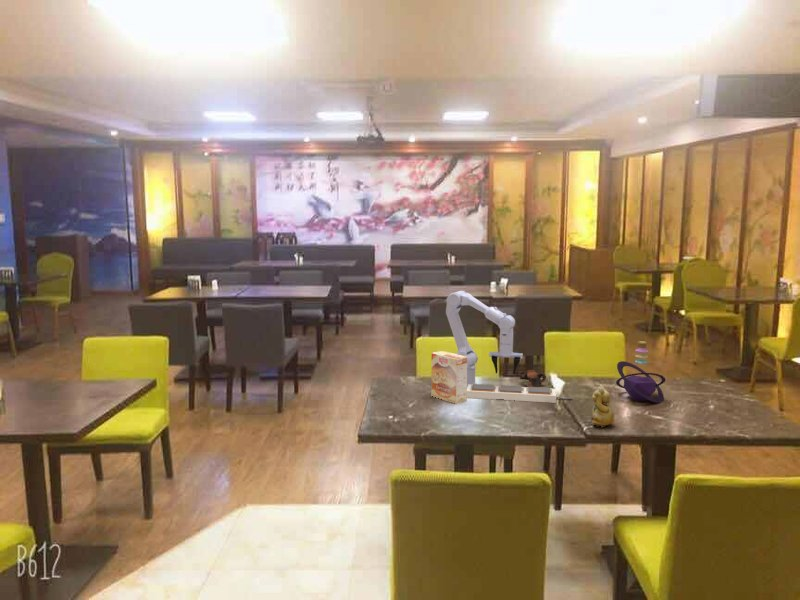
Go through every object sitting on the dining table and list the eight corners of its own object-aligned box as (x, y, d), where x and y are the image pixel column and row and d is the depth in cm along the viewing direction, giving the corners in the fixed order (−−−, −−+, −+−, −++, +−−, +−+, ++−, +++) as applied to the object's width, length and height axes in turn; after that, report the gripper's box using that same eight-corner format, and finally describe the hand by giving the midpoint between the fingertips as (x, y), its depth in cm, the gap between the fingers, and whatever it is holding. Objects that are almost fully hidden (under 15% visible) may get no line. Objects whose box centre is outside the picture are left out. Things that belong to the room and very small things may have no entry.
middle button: (499, 394, 275) (499, 390, 274) (500, 389, 282) (500, 385, 281) (521, 395, 273) (521, 391, 273) (521, 391, 280) (521, 386, 280)
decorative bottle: (657, 410, 259) (660, 349, 255) (605, 400, 271) (608, 343, 268) (672, 397, 276) (675, 340, 273) (623, 388, 289) (625, 334, 285)
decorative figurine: (592, 419, 247) (593, 381, 245) (614, 422, 244) (616, 384, 242) (589, 427, 239) (591, 388, 236) (613, 430, 236) (615, 390, 233)
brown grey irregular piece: (521, 389, 291) (517, 371, 294) (523, 392, 299) (519, 376, 302) (548, 383, 289) (543, 366, 291) (548, 387, 297) (544, 370, 300)
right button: (528, 395, 272) (528, 391, 272) (528, 391, 279) (528, 386, 279) (550, 397, 270) (550, 392, 270) (549, 392, 277) (550, 387, 277)
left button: (471, 392, 277) (471, 388, 277) (473, 388, 284) (473, 383, 284) (493, 394, 275) (493, 389, 275) (494, 389, 282) (494, 385, 282)
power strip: (465, 397, 276) (466, 391, 275) (468, 390, 286) (468, 384, 286) (573, 403, 267) (573, 396, 267) (571, 396, 278) (571, 389, 277)
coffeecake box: (430, 396, 278) (430, 352, 275) (442, 393, 283) (442, 350, 280) (455, 404, 267) (456, 358, 264) (467, 401, 272) (467, 356, 269)
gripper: (488, 344, 279) (488, 374, 281) (522, 346, 276) (521, 376, 278) (490, 341, 285) (489, 370, 287) (523, 342, 282) (522, 372, 284)
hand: (505, 373), depth 283 cm, fingers open, 7 cm apart
